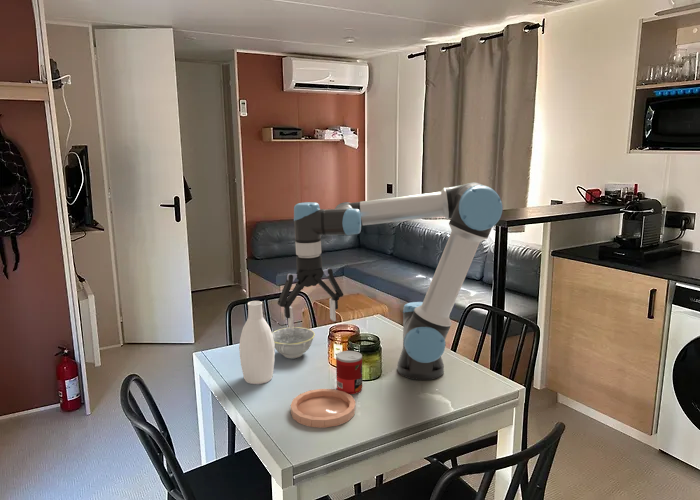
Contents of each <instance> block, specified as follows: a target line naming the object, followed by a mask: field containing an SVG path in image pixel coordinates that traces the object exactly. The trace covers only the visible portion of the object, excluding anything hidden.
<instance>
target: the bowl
mask: <svg viewBox="0 0 700 500" xmlns="http://www.w3.org/2000/svg"><path fill="white" fill-rule="evenodd" d="M272 335H273V339H274V344H275V349H274V350H276V352H278V354H281V355H282V356H283V357H284V358H288V359H296V358H297V359H298V358H300V357H302V356H303V355H304V353H306V352H307V351H308V350H309V349H310V347H311V345H312V343H313V341H314V338H315V331H313V330H312V329H310V328H307V327H298V326H294V329H291V328H290V327H283V328H280V329H277V330H274V331H272Z"/></svg>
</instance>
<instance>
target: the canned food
mask: <svg viewBox="0 0 700 500" xmlns="http://www.w3.org/2000/svg"><path fill="white" fill-rule="evenodd" d="M335 359H336V360H335V367H336V368H335V369H336V373H335V374H336V390H339V391H343V392H346V393H347V394H349V395H355V394H359V393H360V392H361V391H362V389H363V354H362V353H360V352H359V351H355V350H343V351H340V352H337V354H336V356H335Z"/></svg>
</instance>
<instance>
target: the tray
mask: <svg viewBox="0 0 700 500" xmlns="http://www.w3.org/2000/svg"><path fill="white" fill-rule="evenodd" d="M356 405H357V404H356V400H355V398H354V397H353V396H352V394H347V393H346V392H343V391H339V390H338V389H335V388H317V389H311V390H308V391H305V392H302V393H300V394H298V395H297V396H295V397H294V398H293V399H292V401H291V404H290V414H291V417H292V419H293V420H294V421H295V422H297V423H298V424H300V425H303V426H306V427H309V428H310V427H311V428H319V429H320V428H321V429H322V428H325V429H326V428H330V427H337V426H340V425H342V424H345V423H347V422H349V421H350V420H351V419H352V418H353V417H354V416H355V414H356V409H357V407H356Z"/></svg>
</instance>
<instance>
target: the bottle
mask: <svg viewBox="0 0 700 500" xmlns="http://www.w3.org/2000/svg"><path fill="white" fill-rule="evenodd" d="M247 309H248V310H247V320H246V322H245V323H244V325H243V327H242V330H241V334H240V338H239V346H238V348H239V349H238V350H239V359H240V366H241V372H242V374H243V378H244V381H245V382H246V383H248V384H249V385H262V384H266V383H268V382H270V381H271V380H272V379H273V376H274V367H275V350H276V349H275V344H274V339H273V335H272V333H273V331H272V330H271V327H270V325H269V324H268V322H267V321H266V319H265V317H264V315H263V302H262V301H260V300H252V301H248V302H247Z"/></svg>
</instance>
